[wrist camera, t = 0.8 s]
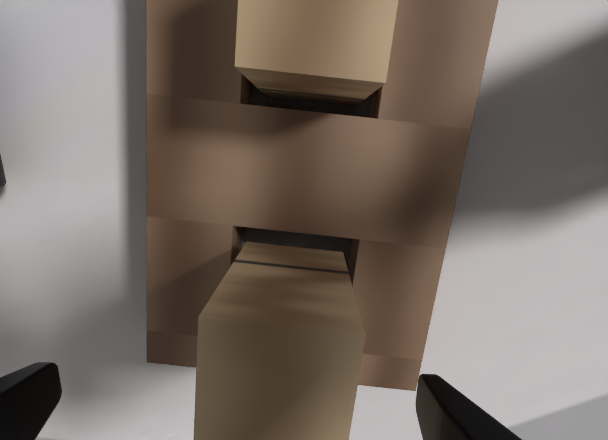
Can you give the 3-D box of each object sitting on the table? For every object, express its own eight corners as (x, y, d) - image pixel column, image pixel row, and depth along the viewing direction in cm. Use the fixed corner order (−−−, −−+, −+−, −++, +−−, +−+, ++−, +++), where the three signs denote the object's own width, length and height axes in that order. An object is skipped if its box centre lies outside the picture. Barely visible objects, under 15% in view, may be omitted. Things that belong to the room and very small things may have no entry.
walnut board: (482, -47, 18) (617, -195, 10) (402, 359, 23) (448, 470, 15) (173, -81, 18) (63, -258, 10) (167, 334, 23) (94, 433, 15)
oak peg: (343, 251, 18) (366, 334, 10) (331, 338, 20) (344, 469, 12) (246, 241, 18) (197, 316, 10) (240, 328, 19) (192, 453, 12)
